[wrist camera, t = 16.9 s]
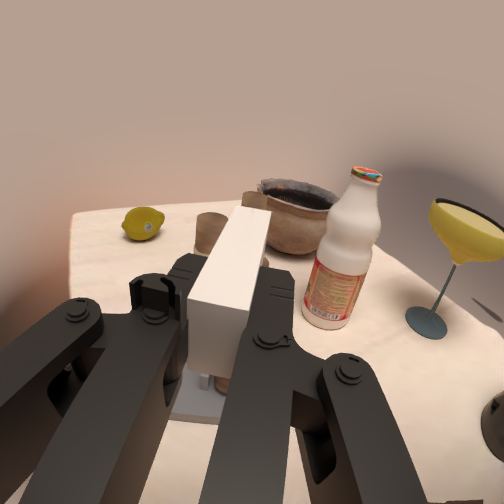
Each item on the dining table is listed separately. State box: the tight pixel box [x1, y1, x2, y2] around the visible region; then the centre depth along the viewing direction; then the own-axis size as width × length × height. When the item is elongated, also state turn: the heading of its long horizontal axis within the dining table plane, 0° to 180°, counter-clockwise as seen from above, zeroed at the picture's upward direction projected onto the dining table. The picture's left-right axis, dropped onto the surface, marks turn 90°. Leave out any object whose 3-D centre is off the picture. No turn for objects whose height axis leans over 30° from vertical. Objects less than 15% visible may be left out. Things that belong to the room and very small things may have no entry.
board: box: [169, 360, 227, 425], centre depth 47 cm, size 16×32×5 cm, turn 2°
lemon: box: [122, 207, 165, 240], centre depth 71 cm, size 11×8×8 cm
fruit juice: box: [302, 166, 382, 330], centre depth 51 cm, size 9×9×28 cm
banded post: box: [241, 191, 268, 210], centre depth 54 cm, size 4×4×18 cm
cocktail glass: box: [406, 198, 504, 339], centre depth 52 cm, size 18×18×25 cm
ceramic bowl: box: [257, 178, 340, 255], centre depth 77 cm, size 22×22×15 cm
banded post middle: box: [194, 212, 228, 257], centre depth 44 cm, size 4×4×18 cm
